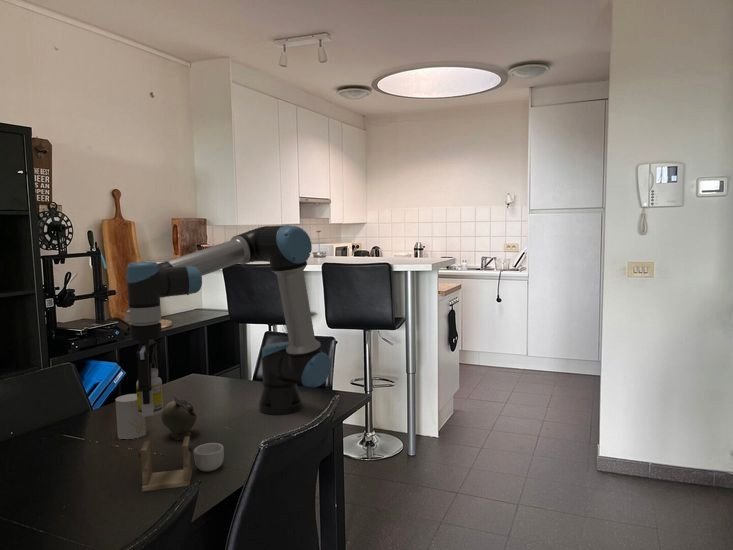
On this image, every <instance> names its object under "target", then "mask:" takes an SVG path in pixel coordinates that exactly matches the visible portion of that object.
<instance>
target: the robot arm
mask: <svg viewBox="0 0 733 550" xmlns="http://www.w3.org/2000/svg"><path fill="white" fill-rule="evenodd" d="M312 247H313V245H312V241H311V238H310V236H309V234H308V232H307V231H306V230H304V229H303V228H301V227H300V226H297V225H290V224H287V225H286V224H285V225H266V226H265V225H264V226H259V227H257V228H253V229H251V230H248V231H245V232H242V233H239V234H236V235H234V236H232V237H231V238H230V240H228V241H225V242H222V243H219V244H216V245H213V246H209V247H206V248H202V249H200V250H196V251H193V252H190V253H187V254H183V255H181V256H178V257H174V258H172V259H168V260H165V261H163V262H159V263H157V261H138V262H130V263H128V264H127V266H126V281H125V282H126V285H127V286H126V288H127V298H128V299H127V302H128V310H126V314H127V315H129V316H128V317H129V318H128V319H129V324H130V326H129V335H130V336H129V338H130V339H131V340H133V341H138V342H139V343H138V346H137V347H136V349H137V351H136V354H135V355H136V362H137V381H138V389H136V393H137V392H141V407H142V417H144V416H145V417H154V416H155V415H154V407H153V390H151V389H152V388H151V368H156V369H158V370H159V368H158V353H157V345H158V342H157V339H160V338H161V337H162V335H163V331H162V323H161V320H162V309H161V308H162V307H161V299H162V298H166V297H178V296H186V295H187V296H189V295H191V294H196V293H198V292H199V291H200V290H201V289H202V286H203V276H207V275H209V274H211V273H214V272H216V271H217V272H218V271H220V270H223V269H225V268H228V267H231V266H234V265H236V264H240V265H246V264H249V263H254V262H266V263H269V266H270V271H271V272H272V273H274V274H275V275H276V276H277V283H278V288H279V293H280V299H281V305H282V311H283V316H284V320H285V326H286V332H287V338H288V341H281V342H275V343H274V342H273V343H270V344H267V345H265V346H263V347H262V350H261V367H262V370H261V372H262V386H263V387H262V391H261V394H260V398H259V401H258V402H259V403H258V410H259V412H260V413H263V414H266V415H275V416H277V415H287V414H293V413H295V412H298V411H300V410H301V409H303V399H302V396H301V394H300V391H299V388H298V386H297V385H301V386H304V387H307V388H308V387H310V388H318V387H320V386H321V385H323V384H324V383H325V382H326V380H327V379H328V377H329V375H330V372H331V369H332V361H331V358H330V356H329V355H328V354H327V353H326V352H323V350H322V345H321V342H320V341H318V340H317V339H316V336H315V330H314V325H313V319H312V314H311V307H310V302H309V296H308V289H307V285H306V284H307V283H306V278H305V272H304V270H305V269H306V268H307V266H308V259H309V258H310V256H311V253H312V250H313V249H312ZM154 340H155V341H154ZM159 375H160V374H159V373H158V377H159Z"/></svg>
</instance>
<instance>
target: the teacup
mask: <svg viewBox="0 0 733 550" xmlns="http://www.w3.org/2000/svg"><path fill="white" fill-rule="evenodd" d="M224 453H225V449H224V445H223V444H221V443H218V442H208V443H203V444H200V445H198V446H196V447H195V448H193V458H194V463H195V466H196V467H197V468H198V469H199V470H200V471H203V472H214V471H215V470H218V469H219V468H220V467H221V466H222V464H223V461H224V458H225V457H224V456H225V454H224Z"/></svg>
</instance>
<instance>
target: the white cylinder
mask: <svg viewBox="0 0 733 550" xmlns="http://www.w3.org/2000/svg"><path fill="white" fill-rule="evenodd" d="M115 415H116V430H117V432H116V433H117V439H118V438H119V439H118V440H120V439H133V440H135V439H134V438H137V439H140V438H142V437H141V436H143V437H145V436H146V434H147V428H146V425H147V424H146V416H144V417H142V415H140V414H139V413H138V403H137V393H128V394H124V395H119V396H118V397H116V398H115ZM139 437H140V438H139Z"/></svg>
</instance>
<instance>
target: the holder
mask: <svg viewBox="0 0 733 550" xmlns="http://www.w3.org/2000/svg"><path fill="white" fill-rule="evenodd" d="M190 438H191V437H190V436H188V437H185V438H184V439H183V442H182V446H181V448H182V466H183V468H182V469H174V470H167V471H166V470H165V471H159V472H158V471H157V472H153V471H152V469H153V468H152V453H151V451H152V450H151V440H144V441H143V445H142V446H141V449H139V450H138V457H139V458H140V460H141V462H140V463H141V476H142V487H141V492H148V491H156V490H158V491H159V490H163V489H164V490H165V489H172V488H181V487H182V488H183V487H189V486H190V484H191V479H192V473H193V468H192V461H191V459H192V456H191V452H194V445H193V444H191V442H190V441H191V440H190Z"/></svg>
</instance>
